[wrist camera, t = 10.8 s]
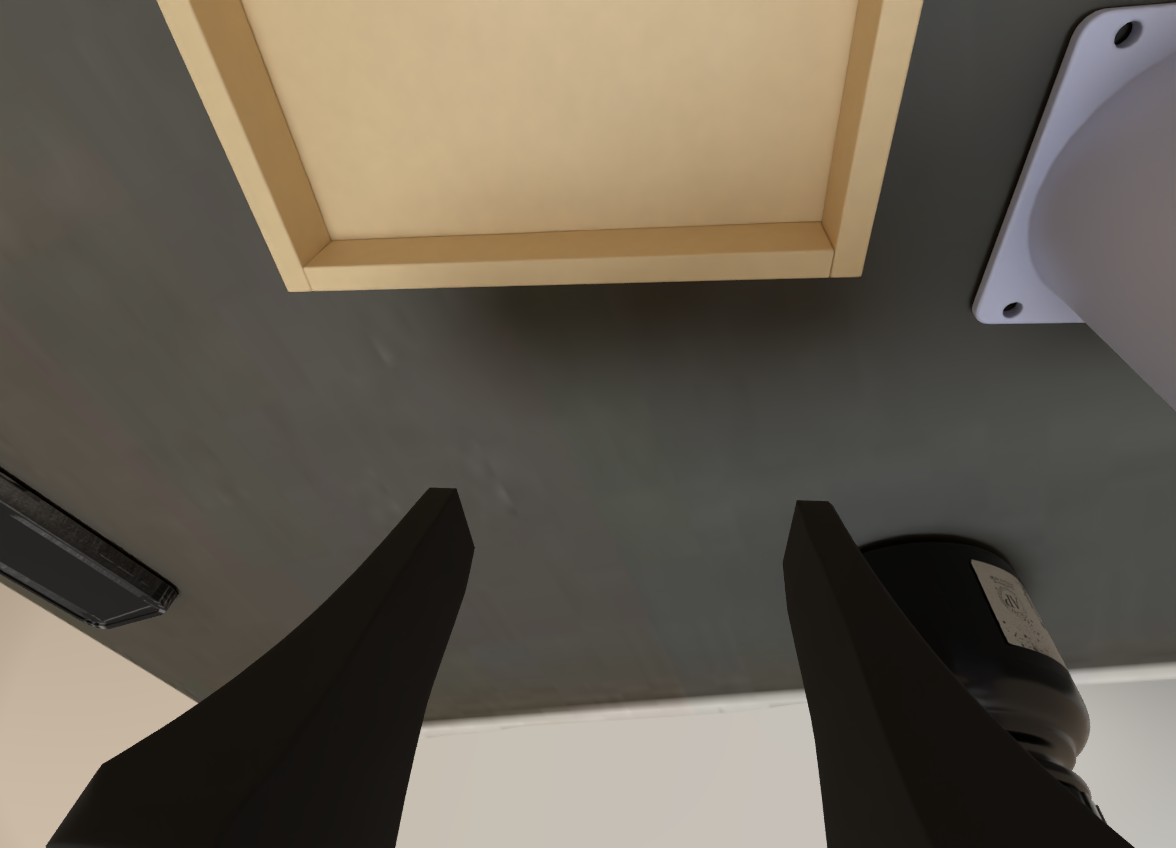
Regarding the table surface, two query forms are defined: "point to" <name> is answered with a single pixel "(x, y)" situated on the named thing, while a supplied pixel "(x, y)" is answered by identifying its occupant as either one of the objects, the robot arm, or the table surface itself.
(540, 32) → the tray
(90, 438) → the table surface
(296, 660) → the robot arm
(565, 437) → the table surface
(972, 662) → the ink bottle
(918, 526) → the table surface
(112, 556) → the phone
